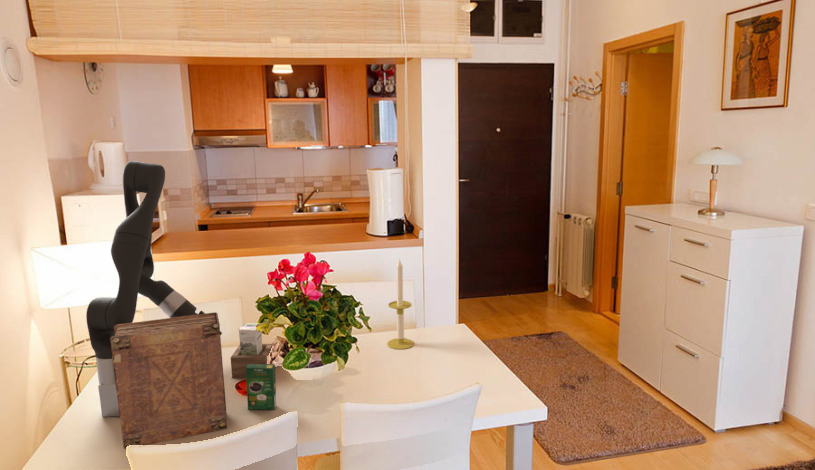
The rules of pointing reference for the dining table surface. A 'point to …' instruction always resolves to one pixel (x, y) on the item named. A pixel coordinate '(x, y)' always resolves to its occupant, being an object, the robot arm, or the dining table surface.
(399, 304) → the candle
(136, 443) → the book
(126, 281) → the robot arm
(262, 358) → the walnut socket
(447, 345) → the dining table surface
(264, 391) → the coffee box
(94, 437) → the dining table surface
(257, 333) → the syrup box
